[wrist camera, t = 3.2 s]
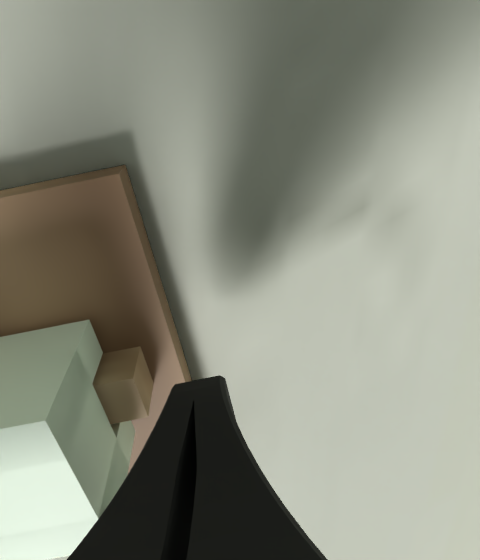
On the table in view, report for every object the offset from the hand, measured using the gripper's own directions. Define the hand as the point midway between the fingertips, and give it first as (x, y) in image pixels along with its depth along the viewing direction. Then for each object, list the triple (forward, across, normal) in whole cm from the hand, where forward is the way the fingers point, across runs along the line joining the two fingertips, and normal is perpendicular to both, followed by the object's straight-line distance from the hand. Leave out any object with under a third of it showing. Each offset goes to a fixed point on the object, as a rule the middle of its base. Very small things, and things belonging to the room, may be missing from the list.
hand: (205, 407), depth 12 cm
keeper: (+2, +5, 0) cm, 5 cm away
